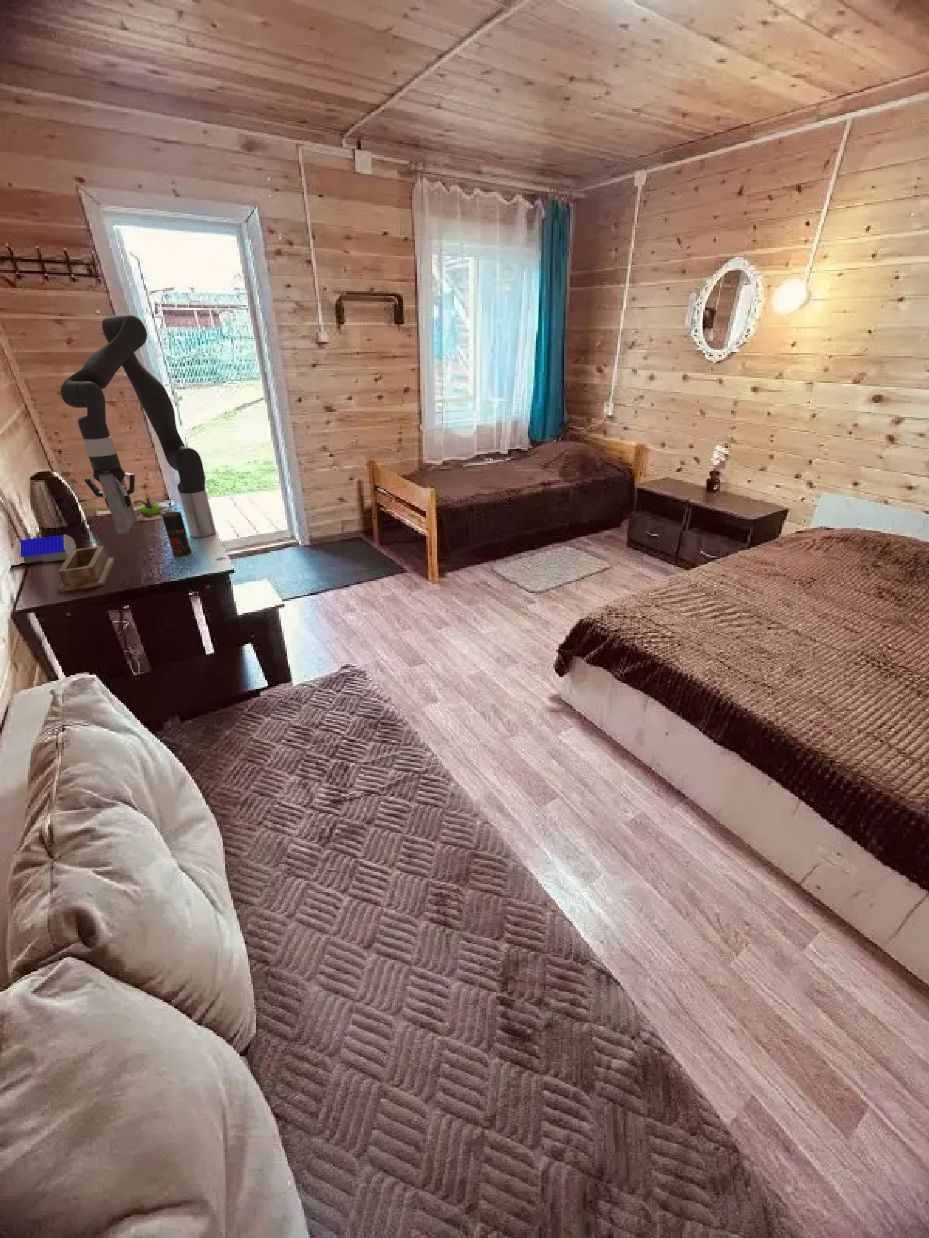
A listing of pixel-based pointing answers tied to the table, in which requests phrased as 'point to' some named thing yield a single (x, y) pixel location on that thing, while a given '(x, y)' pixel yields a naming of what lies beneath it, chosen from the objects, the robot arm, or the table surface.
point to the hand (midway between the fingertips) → (120, 507)
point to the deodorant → (176, 534)
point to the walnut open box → (85, 569)
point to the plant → (149, 511)
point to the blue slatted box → (47, 548)
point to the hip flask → (117, 503)
